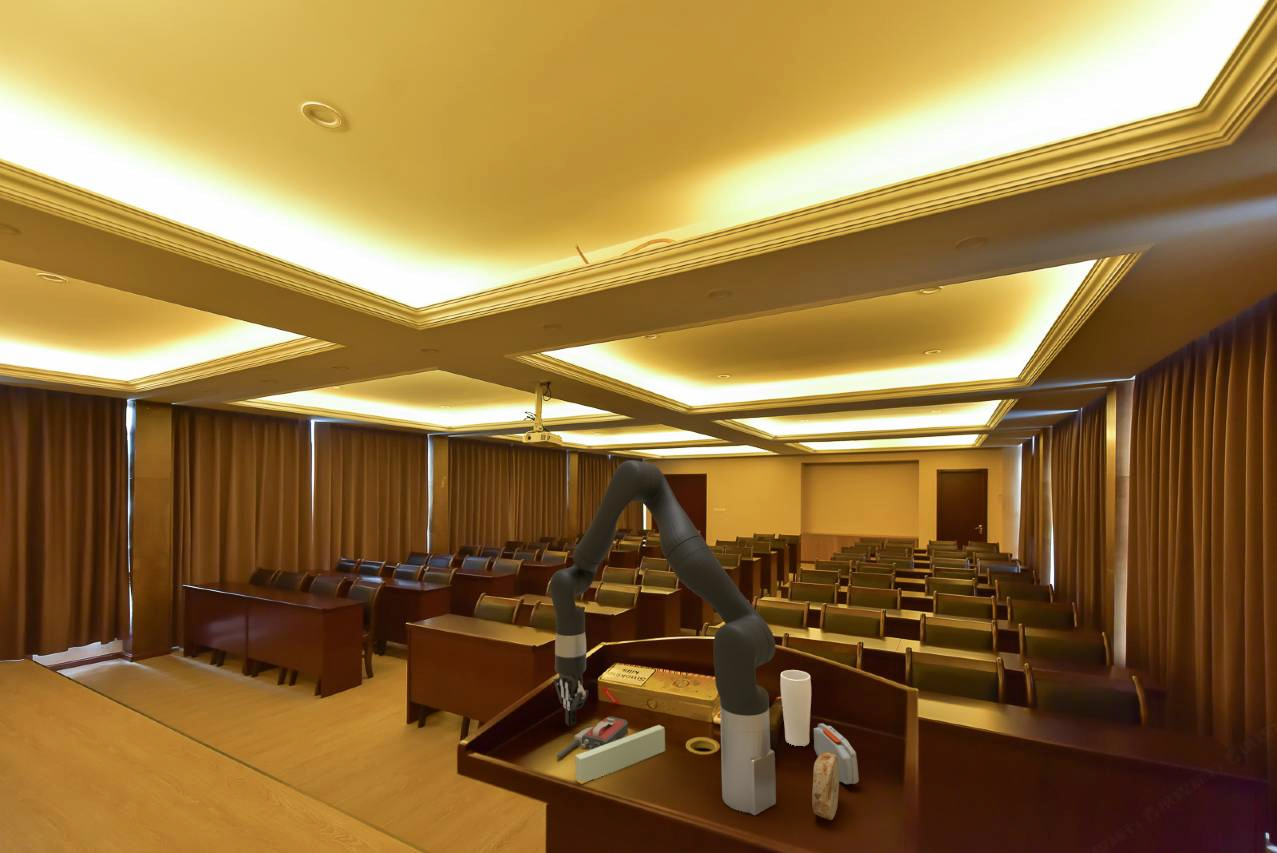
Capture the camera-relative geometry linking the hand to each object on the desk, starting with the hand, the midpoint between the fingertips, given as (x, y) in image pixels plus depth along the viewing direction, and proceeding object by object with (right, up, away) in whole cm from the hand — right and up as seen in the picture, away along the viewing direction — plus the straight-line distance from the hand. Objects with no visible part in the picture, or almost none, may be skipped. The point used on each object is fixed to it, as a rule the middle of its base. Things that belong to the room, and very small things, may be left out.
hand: (570, 724), depth 140 cm
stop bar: (+13, 0, -17) cm, 21 cm away
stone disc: (+51, +1, -34) cm, 61 cm away
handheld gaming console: (+57, 0, -21) cm, 60 cm away
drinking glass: (+53, 0, -8) cm, 53 cm away
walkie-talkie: (+6, -2, -7) cm, 10 cm away
